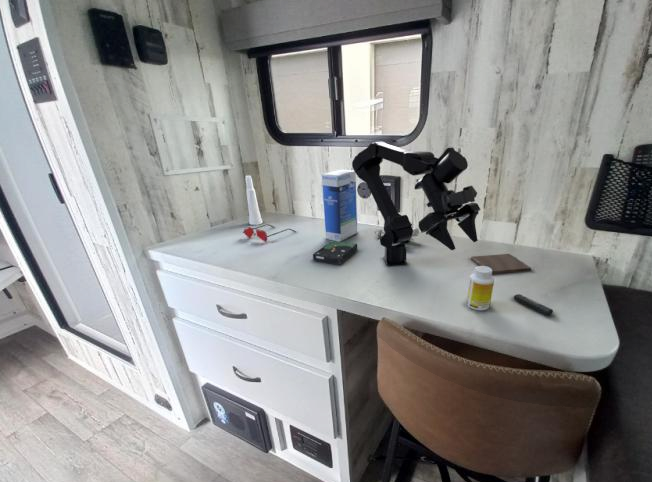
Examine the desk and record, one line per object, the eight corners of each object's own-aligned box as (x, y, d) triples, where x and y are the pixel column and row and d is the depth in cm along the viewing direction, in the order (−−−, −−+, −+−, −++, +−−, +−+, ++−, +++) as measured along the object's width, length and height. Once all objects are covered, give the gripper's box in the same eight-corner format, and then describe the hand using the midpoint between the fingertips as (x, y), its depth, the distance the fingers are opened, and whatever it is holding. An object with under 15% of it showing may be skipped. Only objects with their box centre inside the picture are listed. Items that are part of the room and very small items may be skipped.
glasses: (243, 238, 127) (241, 226, 125) (273, 227, 140) (272, 216, 138) (266, 243, 120) (264, 231, 118) (296, 232, 133) (294, 221, 131)
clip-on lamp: (370, 247, 123) (409, 247, 112) (366, 233, 121) (405, 231, 110) (385, 237, 132) (423, 235, 121) (382, 223, 129) (420, 220, 118)
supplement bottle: (493, 310, 76) (501, 272, 71) (473, 312, 75) (479, 275, 70) (481, 298, 81) (487, 263, 76) (462, 301, 80) (467, 265, 75)
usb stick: (553, 314, 74) (555, 308, 73) (547, 317, 72) (548, 312, 72) (518, 297, 81) (519, 292, 80) (512, 300, 80) (513, 294, 79)
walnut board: (489, 274, 94) (489, 271, 93) (470, 259, 104) (471, 256, 104) (530, 270, 96) (531, 267, 95) (508, 256, 106) (509, 253, 106)
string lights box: (343, 230, 135) (341, 169, 124) (358, 233, 132) (356, 170, 121) (325, 239, 125) (320, 173, 114) (340, 242, 121) (337, 174, 110)
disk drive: (340, 266, 101) (357, 250, 113) (339, 258, 100) (357, 243, 112) (312, 261, 104) (332, 246, 117) (312, 254, 103) (332, 239, 116)
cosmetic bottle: (252, 221, 150) (244, 174, 140) (264, 221, 149) (257, 174, 140) (247, 224, 144) (238, 176, 135) (259, 225, 144) (251, 176, 134)
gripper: (432, 179, 70) (464, 239, 67) (480, 171, 80) (510, 223, 77) (405, 205, 79) (433, 259, 76) (452, 195, 89) (477, 242, 86)
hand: (465, 245), depth 79 cm, fingers open, 9 cm apart
